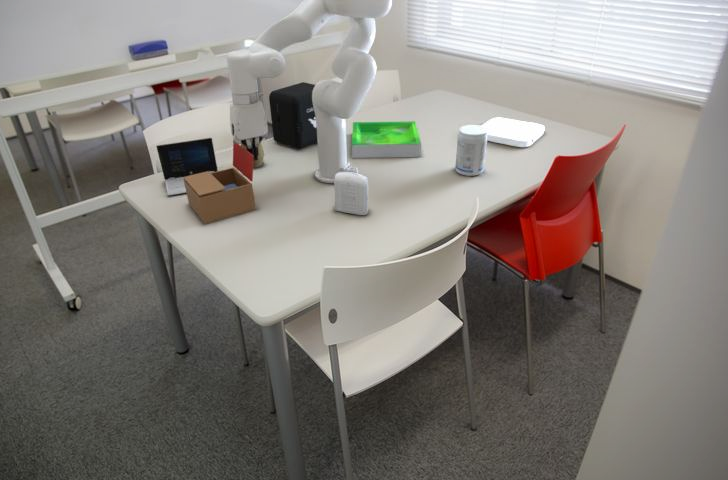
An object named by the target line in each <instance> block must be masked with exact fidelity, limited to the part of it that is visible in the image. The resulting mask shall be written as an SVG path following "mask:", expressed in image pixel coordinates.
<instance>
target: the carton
mask: <svg viewBox="0 0 728 480" xmlns="http://www.w3.org/2000/svg"><path fill="white" fill-rule="evenodd" d="M212 172H213V171H212ZM182 178H184V184H185V188H186V193H185V194H186V196H187V201H188V205H189V206H190V207H191V209H192V210H193V211H194V213H195V214H196V215H197V216H198V218H200V220H201V221H202V222H203V224H204V225H207V224H210V223H214V222H217V221H221V220H223V219H227V218H231V217H235V216H238V215H241V214H245V213H248V212H252V211H255V210H257V209H256V201H255V195H254V193H255V192H254V187H253V183H252V182H251V181H250V180H249V179H248V178H246V177H245V176H244V175H243V174H242V173H241V172H240V171H239V170H237V169H236V168H235V167H234V166H233V167H229V168H225V169H221V170H218V171H217V172H213V173H210V172H209V171H207V172H203V173H198V174H194V175H190V176H186V177H182ZM230 184H235V185H236V186H237V187H236V188H232V189H228V190H225V189H226V188H225V187H224V186H226V185H230ZM222 190H225V191H222ZM220 191H221V192H220Z"/></svg>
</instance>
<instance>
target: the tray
mask: <svg viewBox="0 0 728 480" xmlns="http://www.w3.org/2000/svg"><path fill="white" fill-rule="evenodd" d="M351 133H352V135H351V158H352V159H366V158H367V159H368V158H371V159H372V158H421V151H422V142H421V138H420V134H419V131H418V127H417V122H416V121H415V120H414V121H413V120H411V121H410V120H407V121H353V122H352V132H351Z"/></svg>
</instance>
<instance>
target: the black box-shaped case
mask: <svg viewBox="0 0 728 480" xmlns="http://www.w3.org/2000/svg"><path fill="white" fill-rule="evenodd" d="M315 85H316V84H314V83H309V82H304V81H303V82H299V83H296V84H292V85H288V86H285V87H281V88H278V89H275V90H272V91H271V92H270V94H269V97H268V101H269V109H270V110H269V111H270V119H271V128H272V136H273V141H274V142H275V143H278V144H280V145H284V146H287V147H290V148H293V149H296V150H298V151H299V150H302V149H305V148H308V147H310V146H312V145H316V144H318V142H317V125H316V116H315V111H314V107H313V102H312V92H313V89H314V87H315Z"/></svg>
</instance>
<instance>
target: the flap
mask: <svg viewBox="0 0 728 480" xmlns="http://www.w3.org/2000/svg"><path fill="white" fill-rule="evenodd" d="M232 142H233V141H232ZM232 146H233V147H232V166H233V167H234V168H235V169H236V170H237V171H238V172H239V173H240V174H241V175H243V176H244V177H245V178H246V179H247V180H248V181H249V182H251V183H252V182H253V177H254V168H253V161H254V156H253V155H252V154H251V153H250V152H248V151H247V150H246V149H244V148H243V147H242V146H241V144H235V143H234V142H233V144H232Z"/></svg>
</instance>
